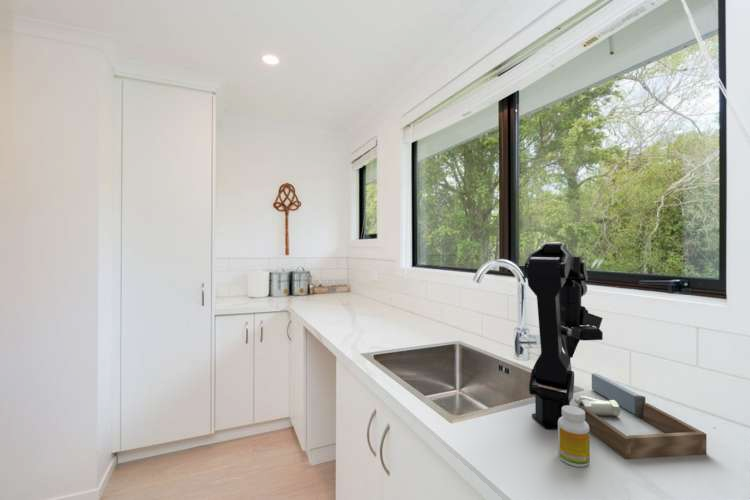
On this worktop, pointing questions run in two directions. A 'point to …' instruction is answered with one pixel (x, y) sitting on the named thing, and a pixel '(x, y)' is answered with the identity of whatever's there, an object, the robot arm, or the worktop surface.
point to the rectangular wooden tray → (650, 435)
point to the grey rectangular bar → (615, 392)
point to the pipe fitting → (599, 406)
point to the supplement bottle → (573, 437)
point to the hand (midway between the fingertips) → (569, 357)
